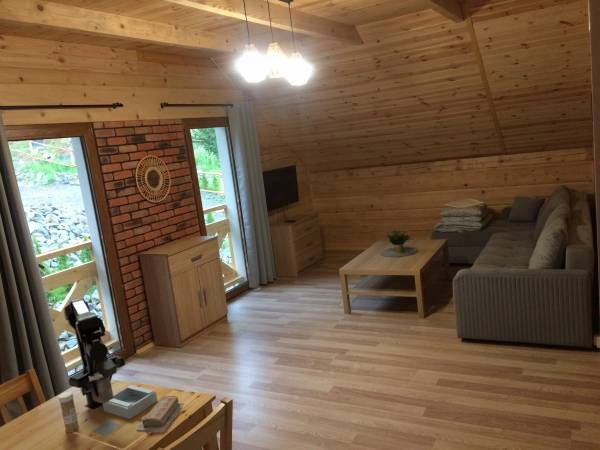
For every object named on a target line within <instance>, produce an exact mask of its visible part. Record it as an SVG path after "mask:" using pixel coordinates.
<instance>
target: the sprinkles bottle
mask: <svg viewBox="0 0 600 450" xmlns="http://www.w3.org/2000/svg"><path fill="white" fill-rule="evenodd" d="M58 402H59V403H60V408H61V414H62V419H63V423H64V427H65V432H66V433H67V434H68V433H73V432H74V433H75V431H76V430H78V428H79V427H80V425H79V422H78V421H79V420H78V416H77V410H76V406H75V402H74V394H73V392H72V391H65V392H63V393H61V394H60V395H58Z"/></svg>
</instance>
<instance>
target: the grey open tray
mask: <svg viewBox="0 0 600 450" xmlns="http://www.w3.org/2000/svg"><path fill="white" fill-rule="evenodd" d="M113 397H114V398H113V399H111V400H109V401H108V402H106V403H104V404H103V405H102V406H103V411H104V412H105V413H108V414H112V415H116V416H118V417H122V418H124V419H128V420H130V419H133V418H134V417H135V416H137V415H138V414H140V413H142V412H143V411H144V410H146V409H148V408H149V407H151V406H152V405H154V404H155V403H156V404H157V402H158V396H157V391H156V390H152V389H148V388H145V387H140V386H137V385H133V384H129V385H128V386H126V387H125V388H123V389H121V390H119V391H118V392H116V393H115V394H114V393H113Z"/></svg>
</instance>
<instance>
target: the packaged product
mask: <svg viewBox="0 0 600 450" xmlns="http://www.w3.org/2000/svg"><path fill="white" fill-rule="evenodd" d="M184 405H185V403H184V402H181V403H180V402H179V398H178V396H175V395H162V397H161V398H160V399H159V400H157V402H156V404H155V405H154V406H153V407H152V408H151V409H150V411H148V413H146V415H145V416H144V417H143V419H142V422H141V423H140V425H138V427H136V432H146V434H147V433H148V434H149V433H155V434H159V433H161V434H163V433H164V432H165V431H166V430H167V429H168V426H170V424H171V423H173V421H174V419H175V418H176V417H177V415H178V414H179V413H180V411H181V410H182V409H183V406H184Z"/></svg>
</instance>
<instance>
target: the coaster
mask: <svg viewBox="0 0 600 450" xmlns="http://www.w3.org/2000/svg"><path fill="white" fill-rule="evenodd" d="M121 426H122V424H120V423H117V422H114V421H111V420H107V421H106V422H105V423H103V424H101V425H99V426H98V427H95V429H93V430H92V431H91V432H92V433H96V434H98V435H100V436H107V435H108V434H110V433H112V432H113V431H114V430H116V429H118V428H119V427H121Z"/></svg>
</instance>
